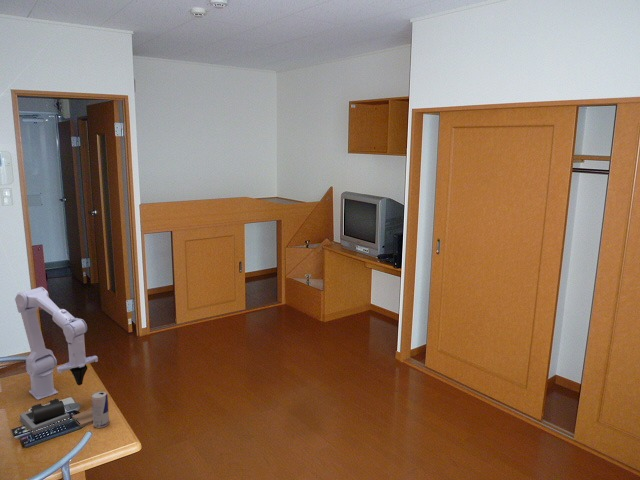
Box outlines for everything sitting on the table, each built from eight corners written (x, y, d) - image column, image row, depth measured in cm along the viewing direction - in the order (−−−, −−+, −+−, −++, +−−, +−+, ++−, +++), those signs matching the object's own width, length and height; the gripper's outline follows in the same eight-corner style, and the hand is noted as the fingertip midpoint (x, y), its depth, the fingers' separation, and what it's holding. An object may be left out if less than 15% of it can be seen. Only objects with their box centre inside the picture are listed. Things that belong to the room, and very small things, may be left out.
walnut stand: (72, 419, 185) (71, 416, 185) (93, 410, 191) (93, 407, 191) (81, 427, 180) (81, 424, 180) (103, 418, 186) (102, 415, 186)
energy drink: (112, 421, 184) (110, 391, 182) (103, 429, 179) (101, 399, 177) (99, 419, 186) (97, 389, 183) (90, 427, 180) (88, 397, 178)
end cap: (35, 430, 178) (34, 413, 176) (31, 421, 183) (29, 405, 182) (66, 420, 184) (64, 404, 183) (61, 412, 189) (59, 396, 188)
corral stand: (20, 420, 183) (19, 414, 183) (56, 407, 193) (55, 401, 192) (33, 434, 175) (32, 428, 174) (69, 420, 184) (69, 414, 184)
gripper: (61, 360, 181) (64, 394, 183) (100, 348, 191) (102, 381, 194) (53, 354, 185) (56, 387, 188) (92, 343, 196) (94, 375, 199)
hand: (79, 383), depth 191 cm, fingers closed
